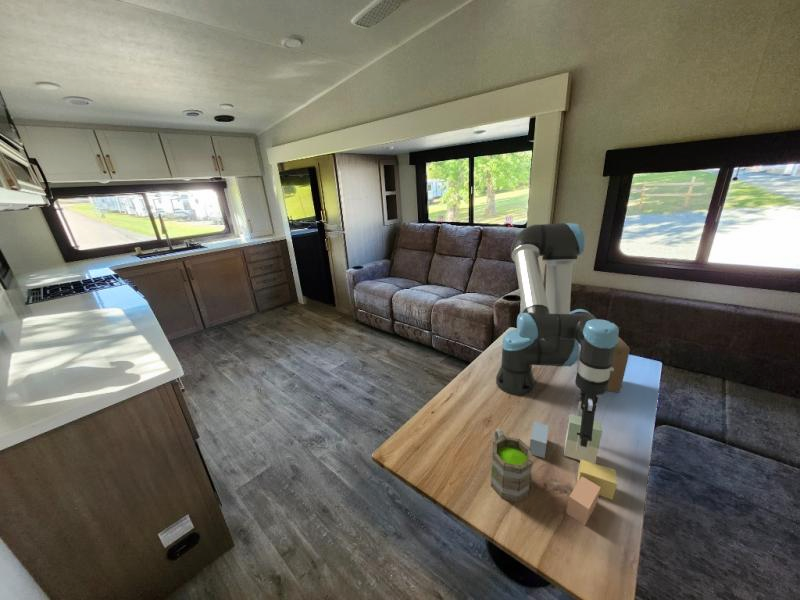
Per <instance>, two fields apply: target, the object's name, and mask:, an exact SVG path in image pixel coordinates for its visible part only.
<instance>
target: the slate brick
mask: <svg viewBox="0 0 800 600" xmlns="http://www.w3.org/2000/svg"><path fill="white" fill-rule="evenodd" d="M548 435H549V425H548V424H544V423H541V422H538V421H533V424H532V429H531V434H530V441H529V447H530V448H531V449H532V456H536V457H539V458H542V459H545V458H546V450H547V445H548V444H547V443H548Z"/></svg>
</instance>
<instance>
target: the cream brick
mask: <svg viewBox="0 0 800 600" xmlns="http://www.w3.org/2000/svg"><path fill="white" fill-rule="evenodd" d="M576 446H577V442H574V441H571V440H568V439H567V433H566V435H565V442H564V452H563V455H564V456H565V457H568V458H571V459H575V460H578V461H580V460H581V459H582V460H585V461H588V462H591V463H594V464H597V463H596V461H597V457H598V451H599V449H598V448H595V447H591V446H589V448H588V453H587V455H586V454H582V453H579V452H576Z"/></svg>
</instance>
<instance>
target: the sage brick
mask: <svg viewBox="0 0 800 600" xmlns="http://www.w3.org/2000/svg"><path fill="white" fill-rule="evenodd" d="M581 419H582V417H580V416H577V414H576V415H575V414H573V413H570V414H569V418H568V424H567V425H568V426H567V430H566V434H567V439H568V440H571V441H574V442H577V441H578V435H577V432H578V433H579V432H580V428H581ZM602 427H603V426H602V422H601V421H599V420H595V419H594V423H593V431H592V441H590V443H589V446H591V447H595V448H598V450H599V448H600V445H601V439H602V434H603V428H602Z"/></svg>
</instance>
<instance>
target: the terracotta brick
mask: <svg viewBox="0 0 800 600" xmlns="http://www.w3.org/2000/svg"><path fill="white" fill-rule="evenodd" d="M600 489H601V487H600V486H598V485H596V484H594V483H593V482H591V481H589V480H588V479H586V478H584V477H583V476H582V477H581V478H580V480H579V482H578V481H577V484H576V485H575V486H574V487H573V490H572V492H571V493H570V494H569V497H568V502H567V507H566V511H565V513H566V514H567V515H569V516H570V517H572V518H573V519H575V520H576V521H577V522H579V523H580V524H582V525H583V526H586V525H587V523H588V521H589V519H590V517H591V515H592V513H593V512H594V510H595V508H596V506H597V504H598V500H599V496H600V495H599V493H600Z"/></svg>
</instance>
